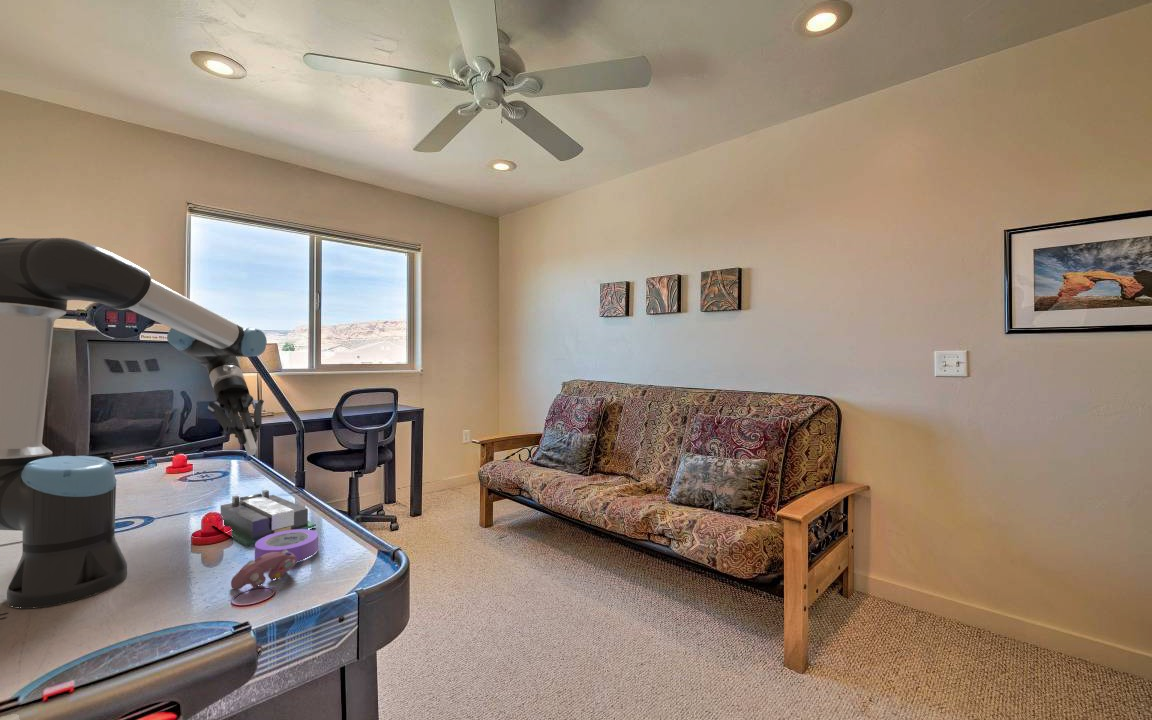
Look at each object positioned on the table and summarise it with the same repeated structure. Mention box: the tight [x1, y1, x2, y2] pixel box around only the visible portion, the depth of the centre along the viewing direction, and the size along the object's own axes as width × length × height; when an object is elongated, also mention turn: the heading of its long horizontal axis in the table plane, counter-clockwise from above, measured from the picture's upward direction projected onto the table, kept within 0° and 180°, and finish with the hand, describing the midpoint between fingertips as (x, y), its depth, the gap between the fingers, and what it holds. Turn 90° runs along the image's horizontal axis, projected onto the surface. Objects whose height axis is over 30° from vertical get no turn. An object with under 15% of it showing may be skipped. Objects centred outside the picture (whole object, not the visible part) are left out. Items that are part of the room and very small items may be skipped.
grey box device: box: [220, 489, 317, 547], centre depth 121 cm, size 22×15×7 cm
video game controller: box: [230, 549, 297, 591], centre depth 91 cm, size 10×5×7 cm, turn 149°
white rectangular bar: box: [239, 493, 294, 530], centre depth 120 cm, size 20×5×4 cm, turn 53°
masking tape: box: [254, 529, 319, 562], centre depth 104 cm, size 12×12×4 cm
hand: (252, 452), depth 124 cm, fingers closed
